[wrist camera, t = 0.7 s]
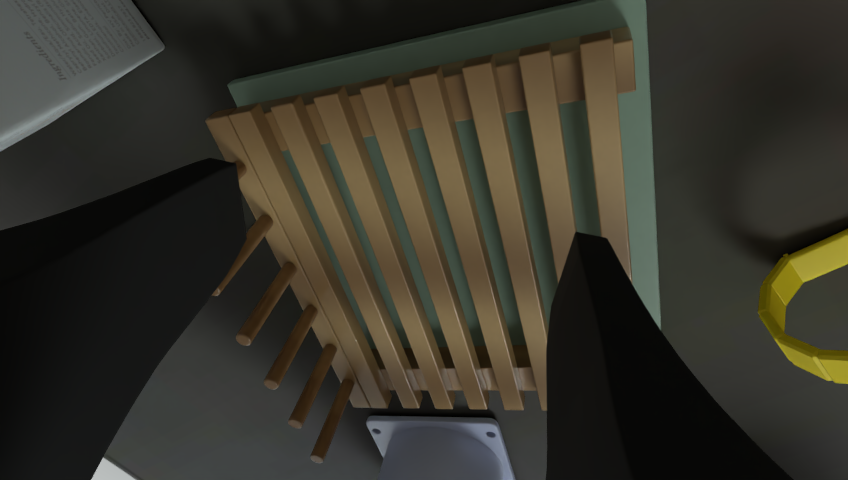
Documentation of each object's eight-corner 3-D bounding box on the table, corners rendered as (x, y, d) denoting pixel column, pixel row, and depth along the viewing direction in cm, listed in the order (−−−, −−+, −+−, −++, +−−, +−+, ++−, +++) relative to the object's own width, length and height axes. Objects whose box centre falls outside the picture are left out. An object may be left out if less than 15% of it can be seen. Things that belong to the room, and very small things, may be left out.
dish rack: (662, 369, 25) (685, 516, 20) (370, 372, 30) (325, 491, 25) (643, -15, 16) (676, 62, 11) (233, 79, 21) (115, 164, 16)
